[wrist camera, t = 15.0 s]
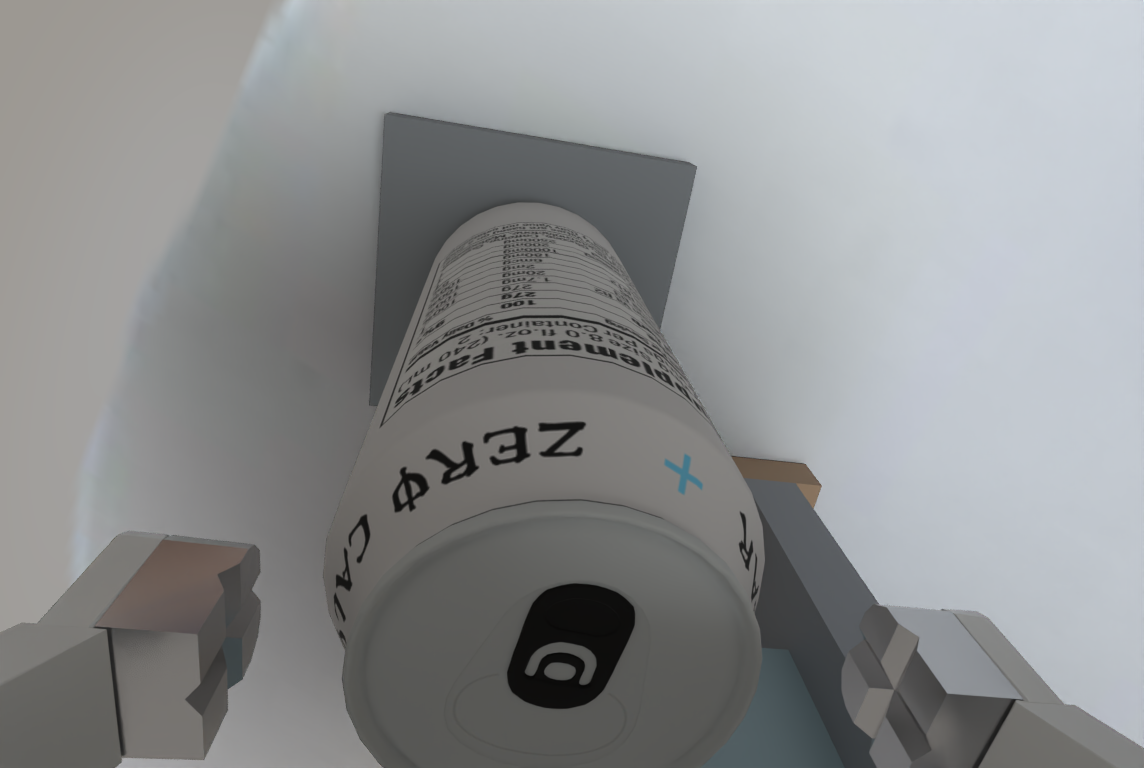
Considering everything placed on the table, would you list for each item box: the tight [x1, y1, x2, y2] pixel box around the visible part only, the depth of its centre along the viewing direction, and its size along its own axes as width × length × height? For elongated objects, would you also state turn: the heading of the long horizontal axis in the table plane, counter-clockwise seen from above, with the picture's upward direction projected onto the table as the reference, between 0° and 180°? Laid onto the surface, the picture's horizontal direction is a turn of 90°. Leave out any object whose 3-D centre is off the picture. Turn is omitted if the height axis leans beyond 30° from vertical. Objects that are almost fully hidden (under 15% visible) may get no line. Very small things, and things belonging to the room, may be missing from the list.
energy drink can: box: [323, 202, 765, 768], centre depth 15 cm, size 6×6×15 cm
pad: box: [369, 112, 697, 406], centre depth 22 cm, size 9×9×1 cm
